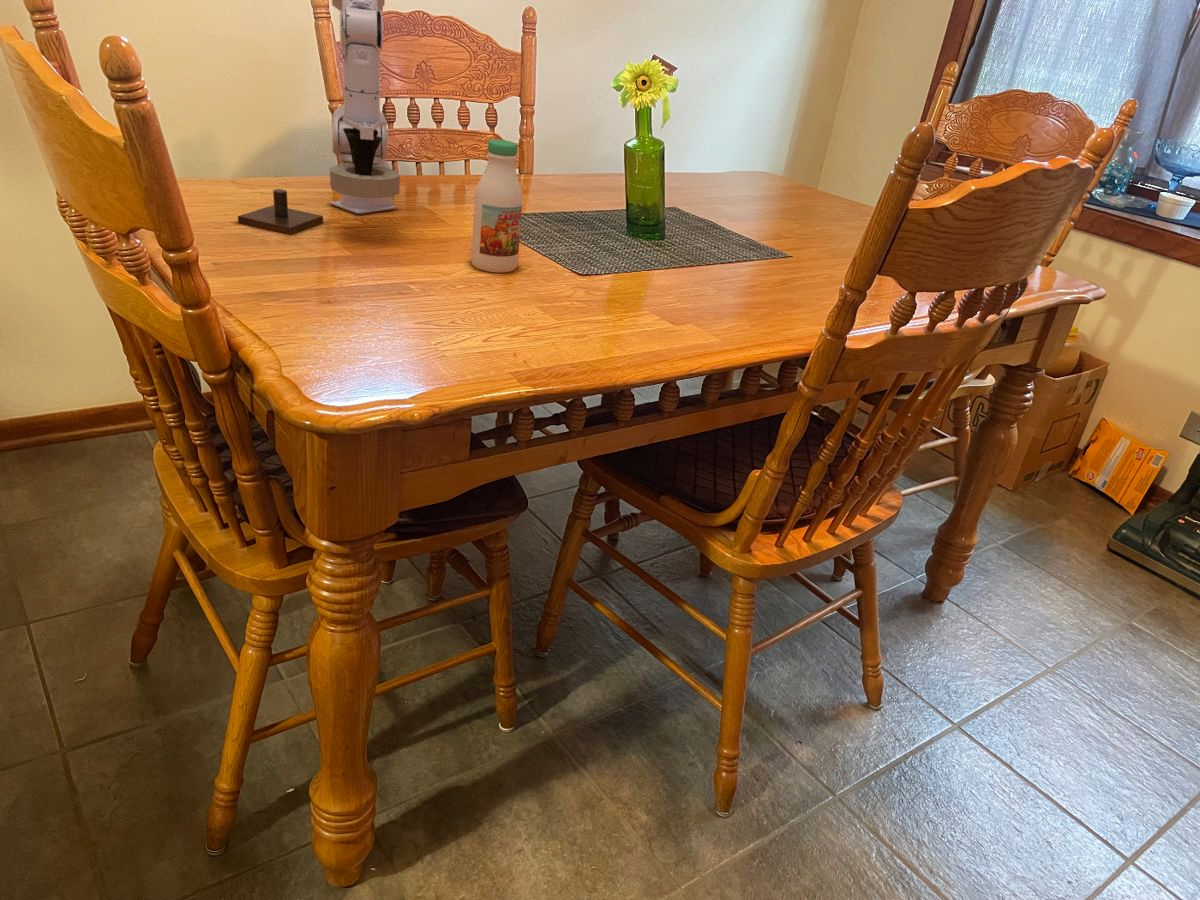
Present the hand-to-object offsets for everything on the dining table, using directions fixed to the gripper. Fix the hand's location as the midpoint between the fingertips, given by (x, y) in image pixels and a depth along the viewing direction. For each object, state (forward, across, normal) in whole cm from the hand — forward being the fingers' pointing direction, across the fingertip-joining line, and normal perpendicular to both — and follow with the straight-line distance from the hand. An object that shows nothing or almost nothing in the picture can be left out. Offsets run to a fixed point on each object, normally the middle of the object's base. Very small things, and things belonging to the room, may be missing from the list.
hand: (362, 175), depth 142 cm
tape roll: (+1, -4, 0) cm, 4 cm away
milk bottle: (+10, -19, -19) cm, 29 cm away
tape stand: (+9, +2, +13) cm, 17 cm away
